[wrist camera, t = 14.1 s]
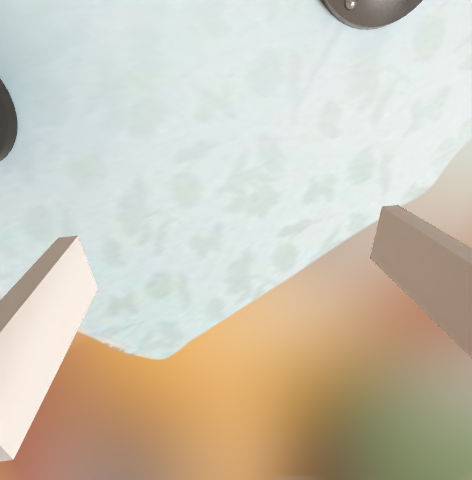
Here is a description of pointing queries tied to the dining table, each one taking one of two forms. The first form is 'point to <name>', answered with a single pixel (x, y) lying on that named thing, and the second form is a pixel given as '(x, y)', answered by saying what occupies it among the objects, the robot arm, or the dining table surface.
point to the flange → (369, 11)
